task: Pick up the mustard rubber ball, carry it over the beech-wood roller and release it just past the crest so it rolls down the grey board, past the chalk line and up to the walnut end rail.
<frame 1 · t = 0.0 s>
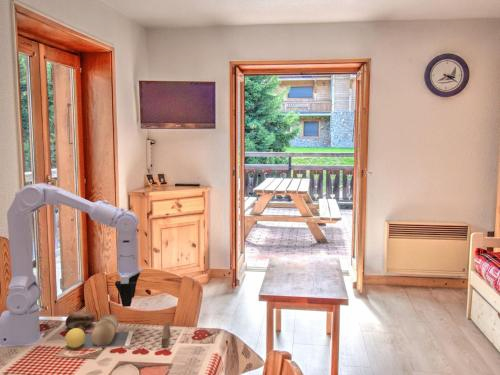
hand: (128, 301, 128), 10 cm above the table, fingers open, 7 cm apart
end rail: (165, 338, 128), on the table
grey board: (101, 341, 125), on the table
ball: (75, 347, 120), point 1 cm above the table, touching grey board
mushroom: (80, 330, 134), on the table
roller: (105, 341, 125), resting on grey board
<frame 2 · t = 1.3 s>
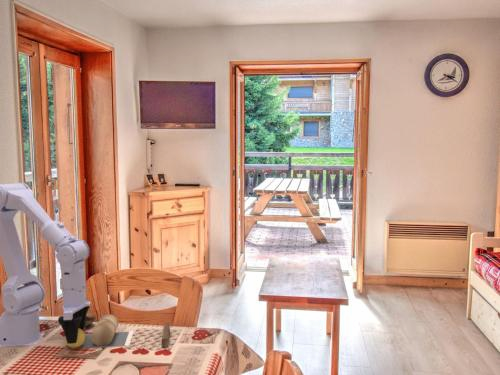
hand: (75, 337, 120), 3 cm above the table, fingers open, 7 cm apart
nothing on the table moved.
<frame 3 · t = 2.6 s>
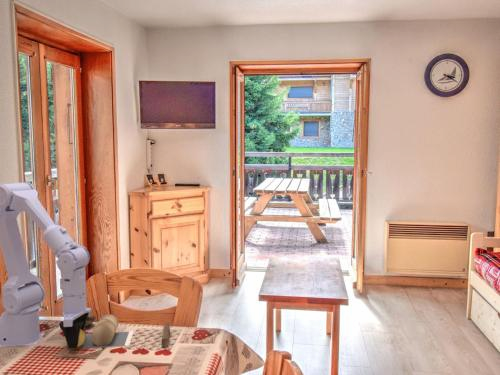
hand: (75, 343, 120), 2 cm above the table, fingers closed on ball, 5 cm apart
ball: (75, 347, 120), point 1 cm above the table, touching gripper, grey board
everything else where it was.
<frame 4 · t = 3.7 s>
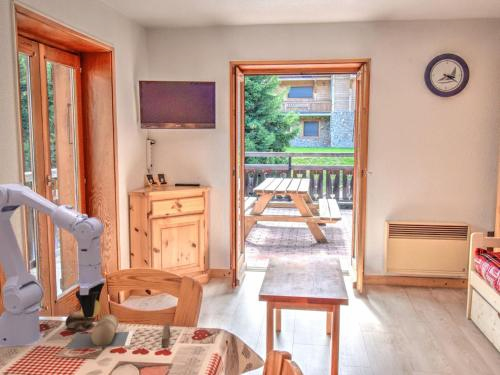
hand: (91, 313, 122), 9 cm above the table, fingers closed on ball, 5 cm apart
ball: (91, 317, 122), point 8 cm above the table, touching gripper
everything else where it was.
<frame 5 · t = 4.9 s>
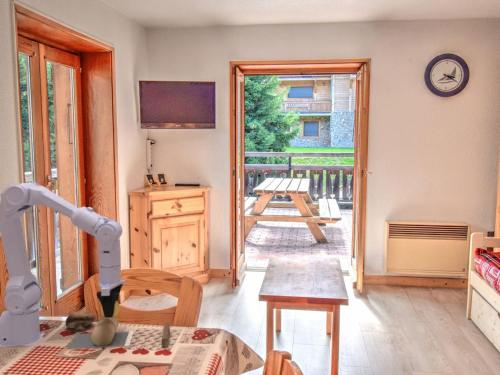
hand: (110, 313, 125), 8 cm above the table, fingers closed on ball, 5 cm apart
ball: (110, 317, 125), point 7 cm above the table, touching gripper
everything else where it was.
when the fingers open (8 cm above the table, at t = 5.3 s): ball drops 6 cm and tips over, point 1 cm above the table.
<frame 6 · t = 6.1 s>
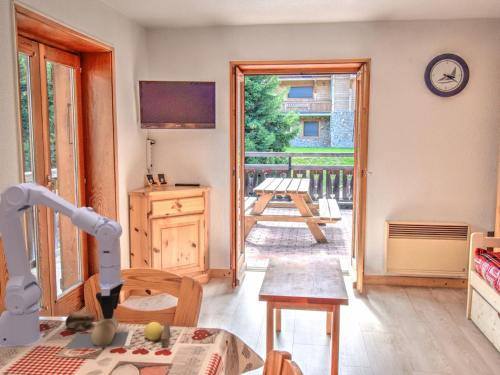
hand: (110, 313, 125), 8 cm above the table, fingers open, 7 cm apart
ball: (159, 336, 127), point 1 cm above the table, tilted 44°
everything else where it was.
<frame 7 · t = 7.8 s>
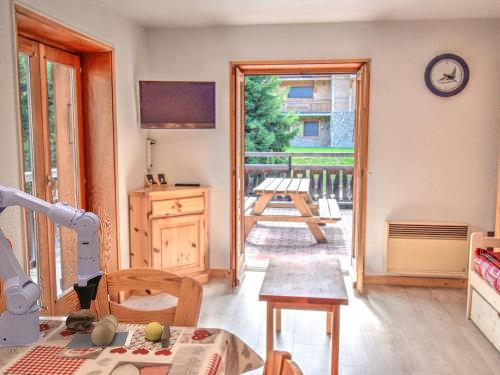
hand: (88, 304, 127), 10 cm above the table, fingers open, 7 cm apart
nothing on the table moved.
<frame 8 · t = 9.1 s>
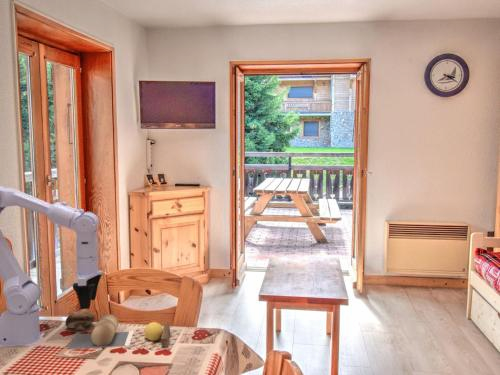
hand: (88, 304, 127), 10 cm above the table, fingers open, 7 cm apart
nothing on the table moved.
at the end: ball inside the target area (0.7 cm from its centre), point 0.7 cm above the table; the gripper is holding nothing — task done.
